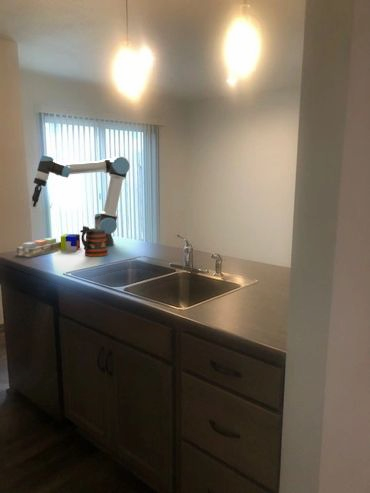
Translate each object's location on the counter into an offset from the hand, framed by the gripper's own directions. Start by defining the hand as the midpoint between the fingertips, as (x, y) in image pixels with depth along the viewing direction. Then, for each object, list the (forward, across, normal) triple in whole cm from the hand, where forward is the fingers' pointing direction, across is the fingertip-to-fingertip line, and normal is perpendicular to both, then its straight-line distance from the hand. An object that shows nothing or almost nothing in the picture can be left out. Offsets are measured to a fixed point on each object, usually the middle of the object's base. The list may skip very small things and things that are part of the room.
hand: (31, 210), depth 247 cm
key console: (+25, +1, +12) cm, 28 cm away
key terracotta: (+22, +1, +11) cm, 25 cm away
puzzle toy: (+19, -1, +31) cm, 37 cm away
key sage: (+20, -5, +18) cm, 27 cm away
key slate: (+24, +7, +5) cm, 25 cm away
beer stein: (+15, +23, +42) cm, 50 cm away
